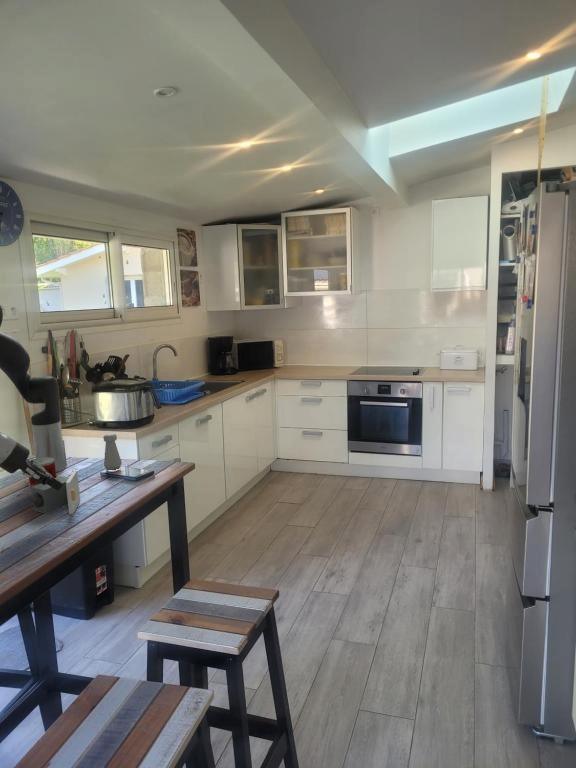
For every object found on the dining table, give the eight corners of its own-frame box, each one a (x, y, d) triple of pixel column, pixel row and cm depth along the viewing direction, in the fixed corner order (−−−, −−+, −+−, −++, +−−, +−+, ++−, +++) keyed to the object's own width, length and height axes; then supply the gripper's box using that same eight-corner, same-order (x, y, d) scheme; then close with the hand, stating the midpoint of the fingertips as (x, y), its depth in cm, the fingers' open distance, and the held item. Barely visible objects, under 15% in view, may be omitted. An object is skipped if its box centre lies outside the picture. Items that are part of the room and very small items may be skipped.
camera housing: (66, 496, 170) (63, 467, 168) (80, 499, 167) (76, 470, 165) (31, 511, 160) (27, 480, 158) (44, 514, 157) (40, 483, 155)
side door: (76, 500, 165) (73, 471, 164) (83, 500, 166) (79, 470, 164) (69, 514, 155) (65, 482, 154) (76, 513, 156) (72, 482, 154)
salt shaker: (125, 469, 194) (122, 432, 192) (112, 474, 189) (109, 437, 187) (114, 466, 197) (110, 431, 195) (101, 471, 192) (97, 435, 190)
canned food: (47, 488, 177) (43, 455, 176) (64, 492, 173) (60, 458, 171) (25, 497, 171) (21, 462, 169) (42, 501, 167) (37, 466, 165)
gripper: (17, 446, 142) (73, 482, 150) (13, 435, 154) (65, 469, 162) (-4, 470, 141) (54, 505, 149) (-6, 458, 152) (48, 491, 160)
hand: (60, 487), depth 155 cm, fingers closed
